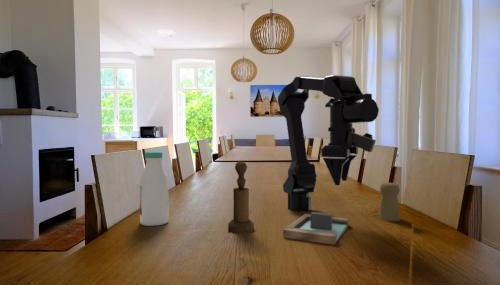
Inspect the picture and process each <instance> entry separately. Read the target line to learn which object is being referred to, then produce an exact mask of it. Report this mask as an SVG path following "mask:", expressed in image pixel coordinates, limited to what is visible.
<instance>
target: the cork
mask: <svg viewBox="0 0 500 285" xmlns="http://www.w3.org/2000/svg"><path fill="white" fill-rule="evenodd" d="M379 190H380V191H379V192H380V193H381V194H380V195H381V198H380V199H381V200H380V205H379V213H378V219H379V220H380V221H386V222H400V221H401V215H400V205H399V197H398V195H399V194H400V186H399V184H397V183H393V182H383V183H381V184H380V186H379Z"/></svg>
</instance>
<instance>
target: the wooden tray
mask: <svg viewBox="0 0 500 285" xmlns="http://www.w3.org/2000/svg"><path fill="white" fill-rule="evenodd" d="M308 220H311V213H310V214H309V213H304V214H303V215H302V216H300V217H299V218H296V220H294V221H293V222H291V223H290V224H289V225H287V226H286V227H284V228H283V230H282V233H283V234H282V237H283V238H286V239H291V240H298V241H299V240H300V241H306V242H313V243H318V244H326V245H331V246H332V245H333V246H335V245H336V244H337V243H338V242H339V240H341V238H342V236H343V234H344V233H345V232H346V230H348V227H349V226H350V221H349V220H350V218H345V217H338V216H337V217H335V216H332V222H333V223H342V224H347V228H346V229H345V230H344V232H343V233H342V234H341V236H340V237H339V238H338V240H337V241H336V237H337V233H329V232H322V231H314V230H306V229H299V228H300V227H301V226H302V225H303V224H305V223H306V222H307V221H308Z"/></svg>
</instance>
